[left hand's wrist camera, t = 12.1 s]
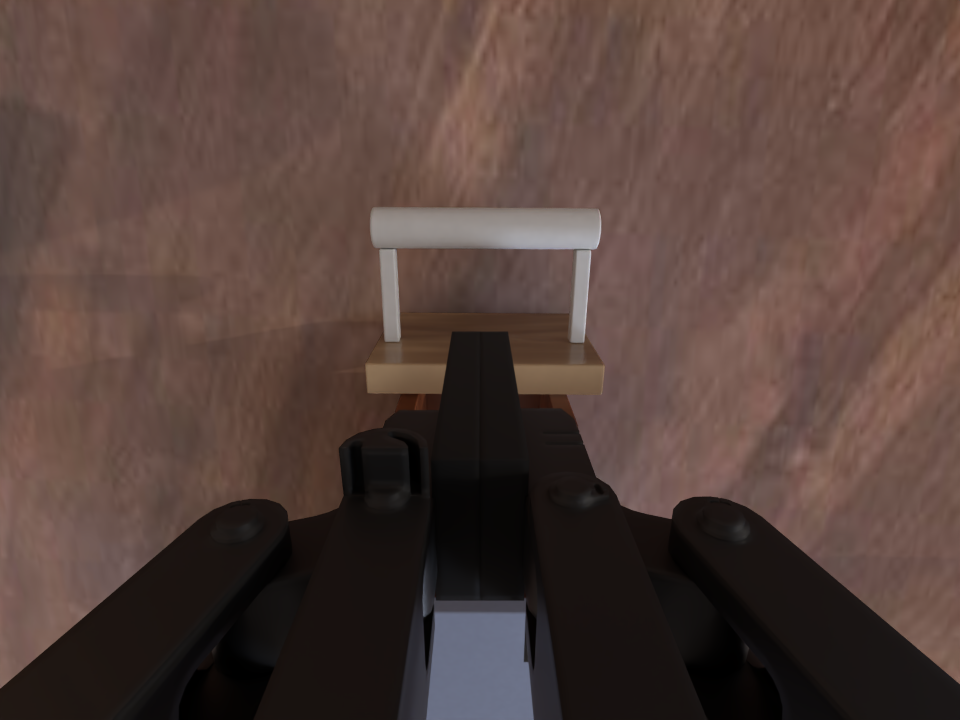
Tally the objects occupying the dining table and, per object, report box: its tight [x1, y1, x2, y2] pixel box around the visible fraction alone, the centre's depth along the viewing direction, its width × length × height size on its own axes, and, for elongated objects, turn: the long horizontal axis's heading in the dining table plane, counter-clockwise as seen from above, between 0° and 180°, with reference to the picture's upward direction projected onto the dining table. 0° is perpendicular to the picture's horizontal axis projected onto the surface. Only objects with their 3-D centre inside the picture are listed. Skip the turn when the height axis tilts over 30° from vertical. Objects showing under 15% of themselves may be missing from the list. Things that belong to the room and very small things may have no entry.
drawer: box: [365, 207, 605, 598], centre depth 24 cm, size 21×9×7 cm, turn 0°
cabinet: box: [426, 598, 534, 720], centre depth 29 cm, size 16×10×9 cm, turn 0°
